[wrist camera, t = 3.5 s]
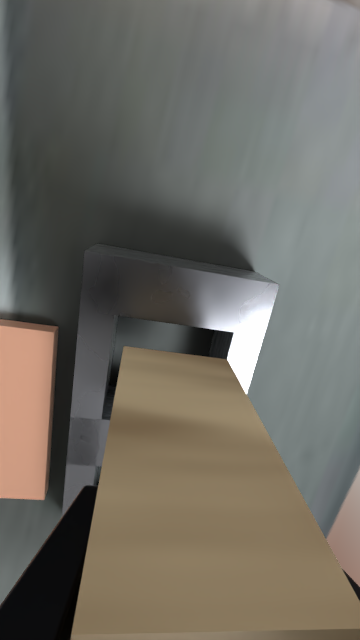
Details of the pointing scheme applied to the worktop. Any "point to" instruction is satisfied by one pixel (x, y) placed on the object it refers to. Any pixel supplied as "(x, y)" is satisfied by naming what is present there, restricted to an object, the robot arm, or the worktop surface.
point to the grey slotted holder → (156, 305)
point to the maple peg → (202, 519)
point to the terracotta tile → (26, 407)
